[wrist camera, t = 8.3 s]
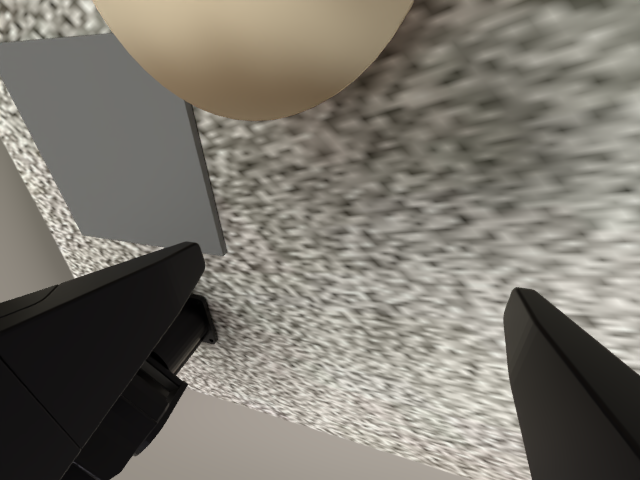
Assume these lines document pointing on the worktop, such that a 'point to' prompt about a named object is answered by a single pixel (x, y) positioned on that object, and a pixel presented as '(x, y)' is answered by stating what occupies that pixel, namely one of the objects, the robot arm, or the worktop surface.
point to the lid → (254, 48)
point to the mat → (114, 141)
